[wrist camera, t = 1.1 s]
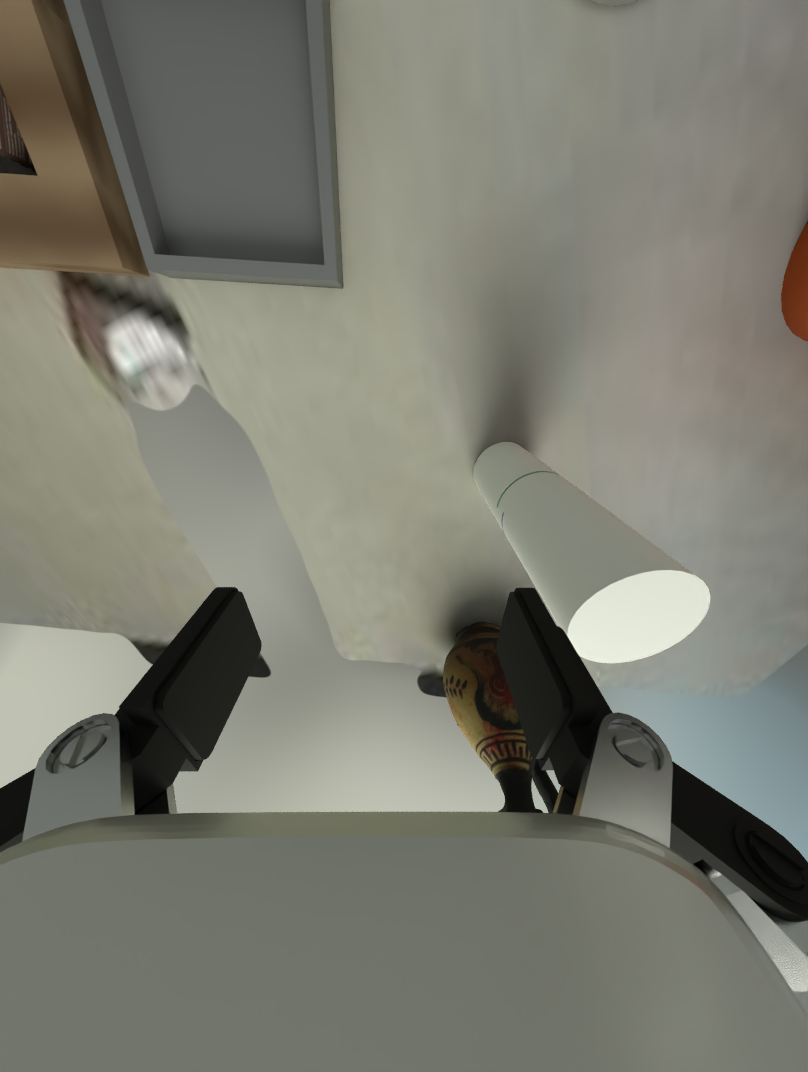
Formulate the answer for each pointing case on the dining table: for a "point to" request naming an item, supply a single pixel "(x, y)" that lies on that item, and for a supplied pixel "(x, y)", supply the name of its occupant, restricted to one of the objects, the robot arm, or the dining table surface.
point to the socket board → (58, 154)
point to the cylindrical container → (589, 561)
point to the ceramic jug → (493, 717)
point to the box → (12, 136)
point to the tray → (221, 133)
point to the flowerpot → (797, 288)
